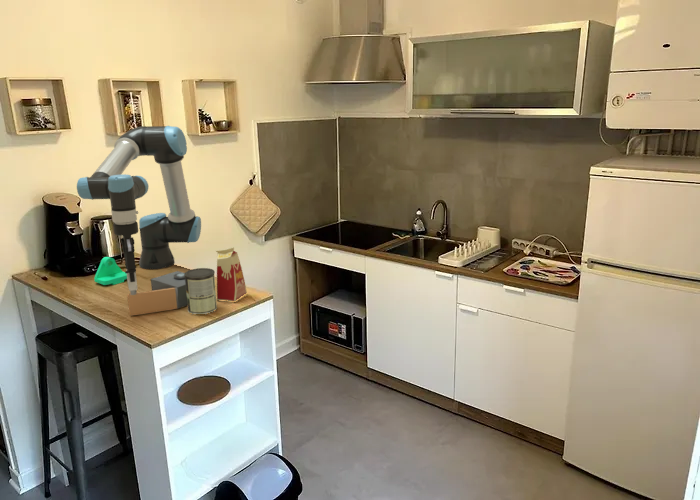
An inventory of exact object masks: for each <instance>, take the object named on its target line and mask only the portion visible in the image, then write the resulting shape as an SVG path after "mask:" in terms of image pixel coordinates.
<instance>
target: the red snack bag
mask: <svg viewBox="0 0 700 500" xmlns="http://www.w3.org/2000/svg"><path fill="white" fill-rule="evenodd" d="M215 252H216V253H217V256H216V257H217V260H216V301H217V300H228V301H236V300H237V299H239V298H240V297H241V296H243V295H244V294H246V293H247V294H248V292H247V285H246V280H245V277H244V273H243V267H242V265H241V261H240V258H239V254H238V252H237V251H235V247H230V248H228V249H227V248H226V249H219V250H215Z"/></svg>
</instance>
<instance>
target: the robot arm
mask: <svg viewBox="0 0 700 500" xmlns="http://www.w3.org/2000/svg"><path fill="white" fill-rule="evenodd" d="M187 150H188V147H187V138H186V136H185V134H184V131H183V130H182V129H181V128H180V127H178V126H170V125H166V126H165V125H159V126H158V125H157V126H156V125H153V126H146V125H143V126H142V125H141V126H137V127H134V128H132V129H130V130H127V131H126V132H124V133H123V134H122V135H121V136H120V137H118V138H117V140H116V141H115V142H114V145H113V149H112V150H111V151H110V153H109V154H108V155H107V156H106V157H105V159H104V160H103V161H102V162H101V163H100V165H99V166H98V168H97V169H96V170H95V171H94V172H93V174H91V176H90V177H89V176H85V177H84V176H83V177H80V178H78V180H77V182H76V191H77V194H78V196H79V197H80V198H81V199H83V200H93V201H94V200H109V201H110V207H111V219H112V222H113V224H112V226H113V232H114V235H116V236H119V237H120V236H121V238H120V243H121V249H122V252H123V254H124V255H123V256H124V262H125V263H124V265H125V271H124V272H125V273H127V279H126V280H127V287H128V291H129V292H130V291H133V290H136V291H138V288H139V287H138V280H137V274H136V273H137V265H136V261H135V239H134V237H132V236H133V235H137V234H138V233H139V235H140V243H141V253H140V258H139V267H140V268H141V269H145V270H160V269H165V268H169V267H172V266H173V265H175V263H176V262H175V257H174V255H173V253H172V250H171V248H170V243H173V244H174V243H175V244H176V243H179V244H180V243H187V244H190V243H196V242H198V241H199V239H200V236H201V232H202V219H201V217H200V216H196V213H195V211H194V210H193V209H191V207H190V205H191V204H190V200H189V195H188V191H187V190H188V189H187V184H186V180H185V175H184V169H183V164H182V161H183V160H184V158H185V155H186V154H187ZM140 156H141V157H142V156H143V157H144V156H148V157H151V156H153V158H154V161H155V163H156V164H158V165H159V169H160V172H161V176H162V181H163V186H164V190H165V195H166V199H167V204H168V207H169V213H168V215H167V214H166V212H157V213H151V214H147V215H144V216H142V217H140V219H139V222H137V220H138V217H137V215H138V214H139V211H138V210H137V207H136V200H138V199H140V198H142V197H144V196H145V195H146V194H147V193H148V191H149V183H148V181H147V179H146V178H144V177H143V176H141V175H130V174H126V173H125V174H124V171H125V170H126V169H127V167H128V166H129V164H130V163H131V162H132V161H135V160H136V159H137V158H139V157H140Z"/></svg>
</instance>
